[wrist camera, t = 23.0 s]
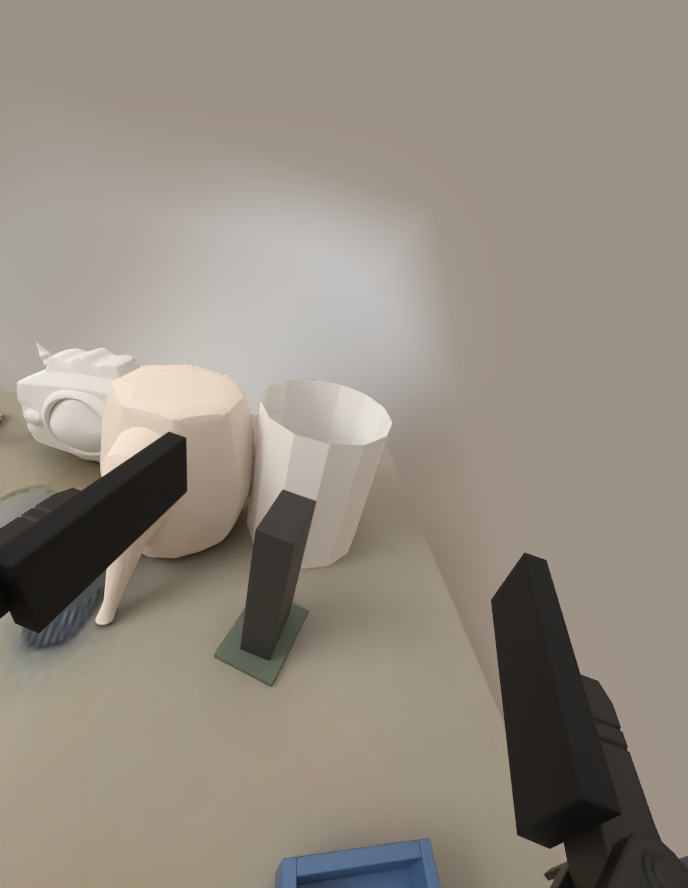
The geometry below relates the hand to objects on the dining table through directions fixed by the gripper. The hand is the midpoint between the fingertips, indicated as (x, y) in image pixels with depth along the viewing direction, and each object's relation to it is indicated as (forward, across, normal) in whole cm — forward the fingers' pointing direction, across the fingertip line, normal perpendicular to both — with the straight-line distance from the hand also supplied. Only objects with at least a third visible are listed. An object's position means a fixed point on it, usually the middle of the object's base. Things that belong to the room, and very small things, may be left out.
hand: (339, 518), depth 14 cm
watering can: (+18, -20, -8) cm, 28 cm away
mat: (+10, -5, -27) cm, 29 cm away
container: (+25, -6, -27) cm, 37 cm away
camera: (+24, -34, -27) cm, 50 cm away
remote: (+10, -5, -26) cm, 28 cm away
